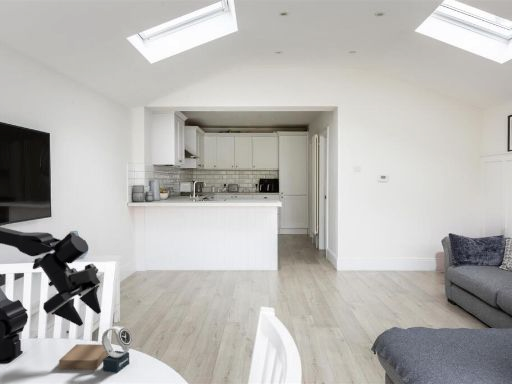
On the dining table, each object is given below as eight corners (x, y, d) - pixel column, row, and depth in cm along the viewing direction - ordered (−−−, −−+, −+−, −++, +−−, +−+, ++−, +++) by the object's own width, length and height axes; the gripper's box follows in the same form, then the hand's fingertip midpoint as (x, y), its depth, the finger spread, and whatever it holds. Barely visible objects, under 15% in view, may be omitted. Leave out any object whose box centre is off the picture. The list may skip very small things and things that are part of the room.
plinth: (59, 369, 106) (59, 360, 106) (76, 352, 116) (76, 344, 116) (96, 369, 106) (96, 360, 106) (110, 352, 116) (110, 344, 116)
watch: (123, 374, 103) (123, 332, 103) (97, 370, 105) (97, 329, 105) (135, 364, 109) (135, 325, 108) (110, 360, 111) (110, 322, 110)
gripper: (59, 263, 99) (95, 314, 98) (98, 249, 117) (128, 292, 117) (27, 288, 100) (62, 338, 100) (70, 270, 119) (100, 313, 118)
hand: (91, 318), depth 108 cm, fingers open, 9 cm apart
